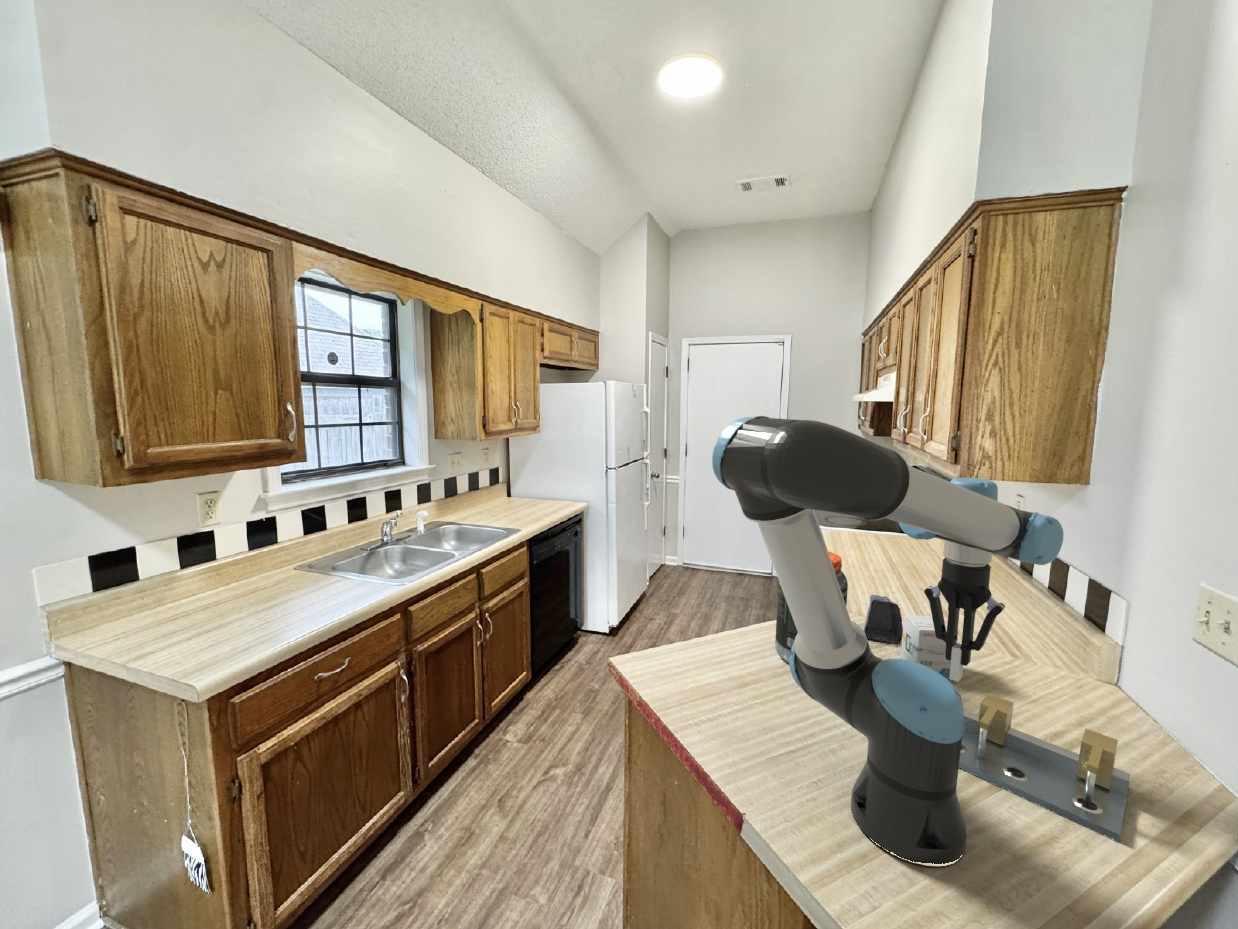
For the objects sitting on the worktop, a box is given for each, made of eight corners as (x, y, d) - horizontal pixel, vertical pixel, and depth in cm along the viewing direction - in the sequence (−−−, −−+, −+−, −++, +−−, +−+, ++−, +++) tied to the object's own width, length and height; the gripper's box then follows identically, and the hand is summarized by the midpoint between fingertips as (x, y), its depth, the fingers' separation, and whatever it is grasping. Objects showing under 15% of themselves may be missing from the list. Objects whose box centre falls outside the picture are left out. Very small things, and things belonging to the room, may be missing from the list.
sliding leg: (993, 762, 89) (997, 728, 88) (966, 750, 92) (970, 717, 91) (1009, 733, 97) (1013, 702, 96) (984, 723, 100) (987, 692, 99)
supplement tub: (850, 676, 119) (858, 567, 115) (779, 670, 121) (785, 563, 118) (833, 644, 134) (840, 547, 131) (770, 639, 137) (775, 544, 133)
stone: (898, 654, 133) (858, 637, 136) (890, 644, 142) (852, 627, 145) (916, 611, 132) (875, 594, 135) (906, 604, 142) (868, 588, 145)
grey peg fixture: (1119, 842, 75) (1126, 792, 74) (921, 751, 94) (925, 710, 93) (1128, 787, 86) (1135, 743, 85) (949, 715, 105) (953, 678, 104)
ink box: (936, 661, 126) (940, 615, 125) (954, 680, 118) (959, 631, 116) (899, 659, 127) (903, 613, 126) (915, 677, 119) (919, 629, 117)
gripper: (1014, 564, 95) (1001, 684, 98) (934, 548, 105) (925, 658, 108) (1003, 574, 90) (990, 700, 93) (921, 556, 100) (912, 671, 103)
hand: (955, 677), depth 101 cm, fingers closed
